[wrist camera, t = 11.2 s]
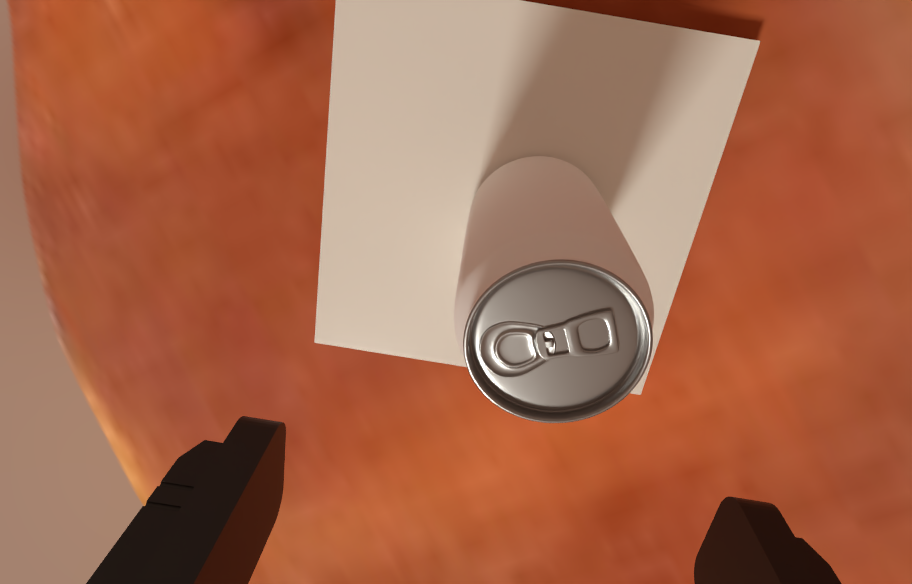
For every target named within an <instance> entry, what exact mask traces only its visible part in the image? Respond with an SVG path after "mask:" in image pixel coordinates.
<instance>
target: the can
mask: <svg viewBox="0 0 912 584" xmlns="http://www.w3.org/2000/svg"><path fill="white" fill-rule="evenodd" d="M653 324H654V304H653V298H652V294H651V291H650V287H649V284H648V282H647V279H646V277H645V275H644V273H643V271H642V269H641V267H640V265H639V263H638V261H637V259H636V257H635V255H634V253H633V252H632V250H631V248H630V246H629V244H628V242H627V241H626V239H625V237H624V235H623V233H622V232H621V230H620V228H619V226H618V224H617V223H616V221H615V219H614V217H613V216H612V214H611V212H610V210H609V208H608V207H607V205H606V203H605V201H604V200H603V198H602V196H601V194H600V193H599V191H598V190H597V188H596V186H595V185H594V184H593V182H592V181H591V180H590V179H589V177H588V176H587V175H586V174H584V173H583V172H582V171H581V170H580V169H578V168H577V167H575V166H574V165H572V164H570V163H568V162H566V161H563V160H560V159H557V158H553V157H546V156H532V157H525V158H521V159H517V160H514V161H512V162H509V163H507V164H505V165H503V166H502V167H500V168H498V169H497V170H496V171H494V172H493V173H492V174H491V175H490V176H489V177H488V178H487V179H486V180H485V181H484V182H483V183H482V185H481V186H480V188H479V189H478V191H477V193H476V194H475V197H474V199H473V201H472V204H471V207H470V211H469V216H468V221H467V226H466V232H465V238H464V244H463V250H462V257H461V263H460V269H459V276H458V283H457V289H456V297H455V306H454V327H455V334H456V339H457V342H458V345H459V348H460V350H461V353H462V355H463V357H464V358H465V362H466V365H467V368H468V371H469V373H470V375H471V377H472V379H473V381H474V382H475V384H476V385H477V387H478V388H479V389H480V391H481V392H482V393H483V394H484V395H485V396H486V397H487V398H488V399H489V400H490V401H492V402H493V403H494V404H495V405H497V406H498V407H500V408H501V409H503V410H505V411H507V412H509V413H511V414H513V415H515V416H518V417H521V418H524V419H527V420H531V421H537V422H544V423H566V422H574V421H579V420H583V419H586V418H590V417H592V416H595V415H598V414H600V413H602V412H604V411H606V410H608V409H610V408H611V407H613V406H614V405H616V404H617V403H619V402H620V401H621V400H623V399H624V398H625V397H626V396H627V395H628V394H629V393H630V392H631V391H632V390H633V389H634V388H635V386H636V385H637V384H638V382H639V381H640V380H641V378H642V376H643V374H644V373H645V371H646V368H647V366H648V363H649V361H650V357H651V353H652V346H653V332H652V330H653Z"/></svg>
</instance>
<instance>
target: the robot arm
mask: <svg viewBox="0 0 912 584" xmlns="http://www.w3.org/2000/svg"><path fill="white" fill-rule="evenodd" d="M285 439H286V427H285V424H284V423H283V422H277V421H271V420H264V419H258V418H252V417H246V416H242V417H241V418H240V419H239V420H238V421H237V422H236V424H235V425H234V427H233V429H232V430H231V432H230V433H229V435H228V436H227V438H226V439H225V441H224V442H223V443H219V442H213V441H207V440H204V441H203V442H201V443H200V444H198V445H197V446H195V447H194V448H192V449H191V450H189V451H188V452H187V453H185V454H184V455H182V456H181V457H179V458H178V459H177V461H176V462H175V463H174V465H173V466H172V467H171V469H170V470H169V471H168V473H167V474H166V476H165V477H164V478H163V480H162V481H161V485H160V486H157V488H156V489H155V490H154V492H153V493H152V495H151V496H150V497H149V499H148V500H147V503H146V506H143V507H142V508H141V510H140V511H139V512H138V514H137V515H136V516H135V518H134V519H133V520H132V522H131V523H130V525H129V526H128V527H127V529H126V530H125V532H124V533H123V534H122V535H121V537H120V538H119V540H118V541H117V542H116V544H115V545H114V546H113V548H112V549H111V551H110V552H109V553H108V555H107V556H106V557H105V559H104V560H103V562H102V563H101V564H100V565H99V567H98V568H97V570H96V571H95V572H94V574H93V575H92V576H91V578H90V579H89V580H88V582H87V583H86V584H248V583H249V580H250V578H251V576H252V574H253V571H254V569H255V567H256V565H257V562H258V560H259V558H260V555H261V553H262V551H263V549H264V546H265V544H266V542H267V540H268V537H269V535H270V533H271V531H272V528H273V526H274V524H275V521H276V518H277V515H278V512H279V508H280V504H281V499H282V494H283V483H284V461H285ZM694 581H695V584H841V582H840V581H839V579H838V577H837V576H836V574H835V573H834V571H833V570H832V568H831V566H830V565H829V564H828V563H827V562H826V561H825V560H824V559H823V558H822V557H821V556H820V555H819V554H818V553H817V552H816V551H815V550H814V549H813V548H812V547H811V546H810V545H809V544H808V543H807V542H806V541H804V540H803V539H802V538H796V537H795V536H794V534H793V533H792V531H791V529H790V528H789V526H788V524H787V523H786V521H785V519H784V518H783V516H782V515H781V513H780V511H779V510H778V508H777V507H776V506H775V505H773V504H771V503H766V502H760V501H754V500H748V499H742V498H736V497H726V498H725V499H724V500H723V501H722V502H721V504H720V506H719V508H718V510H717V512H716V514H715V517H714V519H713V521H712V523H711V526H710V528H709V530H708V532H707V534H706V537H705V539H704V541H703V543H702V545H701V548H700V550H699V552H698V554H697V557H696V561H695V567H694Z"/></svg>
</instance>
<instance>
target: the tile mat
mask: <svg viewBox="0 0 912 584" xmlns="http://www.w3.org/2000/svg"><path fill="white" fill-rule="evenodd" d="M759 44H760V41H757V40H751V39H745V38H739V37H734V36H728V35H722V34H716V33H710V32H704V31H698V30H692V29H687V28H681V27H675V26H669V25H663V24H657V23H651V22H645V21H640V20H634V19H628V18H622V17H616V16H610V15H604V14H598V13H593V12H587V11H581V10H575V9H569V8H563V7H557V6H552V5H546V4H540V3H534V2H528V1H522V0H336V7H335V23H334V39H333V55H332V71H331V87H330V103H329V119H328V135H327V151H326V167H325V183H324V199H323V215H322V231H321V247H320V263H319V279H318V295H317V311H316V327H315V343H320V344H327V345H333V346H339V347H345V348H352V349H358V350H364V351H370V352H377V353H383V354H389V355H395V356H402V357H408V358H414V359H420V360H426V361H433V362H439V363H445V364H451V365H458V366H464V367H467V365H466V362H465V358H464V357H463V355H462V353H461V350H460V348H459V345H458V342H457V339H456V334H455V327H454V306H455V297H456V289H457V283H458V276H459V269H460V263H461V257H462V250H463V244H464V238H465V232H466V226H467V221H468V216H469V211H470V207H471V204H472V201H473V199H474V197H475V194H476V193H477V191H478V189H479V188H480V186H481V185H482V183H483V182H484V181H485V180H486V179H487V178H488V177H489V176H490V175H491V174H492V173H493V172H494V171H496V170H497V169H498V168H500V167H502V166H503V165H505V164H507V163H509V162H512V161H514V160H517V159H521V158H525V157H532V156H546V157H553V158H557V159H560V160H563V161H566V162H568V163H570V164H572V165H574V166H575V167H577V168H578V169H580V170H581V171H582V172H583V173H584V174H586V175H587V176H588V177H589V179H590V180H591V181H592V182H593V184H594V185H595V186H596V188H597V190H598V191H599V193H600V194H601V196H602V198H603V200H604V201H605V203H606V205H607V207H608V208H609V210H610V212H611V214H612V216H613V217H614V219H615V221H616V223H617V224H618V226H619V228H620V230H621V232H622V233H623V235H624V237H625V239H626V241H627V242H628V244H629V246H630V248H631V250H632V252H633V253H634V255H635V257H636V259H637V261H638V263H639V265H640V267H641V269H642V271H643V273H644V275H645V277H646V279H647V282H648V284H649V287H650V291H651V294H652V298H653V304H654V324H653V330H652V332H653V346H652V353H651V357H650V361H649V363H648V366H647V368H646V371H645V373H644V374H643V376H642V378H641V380H640V381H639V382H638V384H637V385H636V386H635V388H634V389H633V390H632V391H631V392H630V393H632V394H639V395H641V392H642V389H643V386H644V383H645V381H646V378H647V375H648V372H649V369H650V366H651V363H652V360H653V357H654V354H655V351H656V348H657V345H658V342H659V339H660V336H661V333H662V330H663V327H664V324H665V321H666V319H667V316H668V313H669V310H670V307H671V304H672V301H673V298H674V295H675V292H676V289H677V286H678V283H679V280H680V277H681V274H682V271H683V268H684V265H685V262H686V260H687V257H688V254H689V251H690V248H691V245H692V242H693V239H694V236H695V233H696V230H697V227H698V224H699V221H700V218H701V215H702V212H703V209H704V206H705V203H706V200H707V198H708V195H709V192H710V189H711V186H712V183H713V180H714V177H715V174H716V171H717V168H718V165H719V162H720V159H721V156H722V153H723V150H724V147H725V144H726V141H727V139H728V136H729V133H730V130H731V127H732V124H733V121H734V118H735V115H736V112H737V109H738V106H739V103H740V100H741V97H742V94H743V91H744V88H745V85H746V82H747V79H748V77H749V74H750V71H751V68H752V65H753V62H754V59H755V56H756V53H757V50H758V47H759Z"/></svg>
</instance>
